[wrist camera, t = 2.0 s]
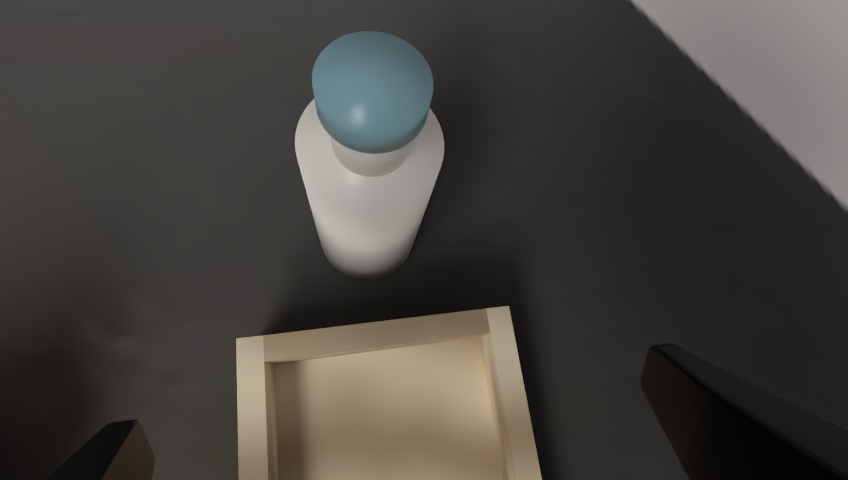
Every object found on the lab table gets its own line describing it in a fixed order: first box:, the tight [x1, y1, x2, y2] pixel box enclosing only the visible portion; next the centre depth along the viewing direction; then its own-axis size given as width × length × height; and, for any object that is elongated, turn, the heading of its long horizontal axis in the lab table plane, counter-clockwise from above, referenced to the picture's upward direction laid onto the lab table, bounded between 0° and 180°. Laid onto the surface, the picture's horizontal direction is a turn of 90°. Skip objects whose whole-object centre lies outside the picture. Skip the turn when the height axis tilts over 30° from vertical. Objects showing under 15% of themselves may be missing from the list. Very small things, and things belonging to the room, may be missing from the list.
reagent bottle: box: [295, 31, 444, 279], centre depth 17 cm, size 5×5×12 cm
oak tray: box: [236, 306, 542, 480], centre depth 18 cm, size 11×11×3 cm
